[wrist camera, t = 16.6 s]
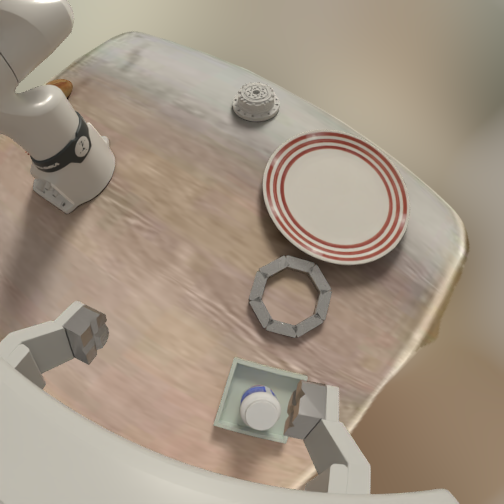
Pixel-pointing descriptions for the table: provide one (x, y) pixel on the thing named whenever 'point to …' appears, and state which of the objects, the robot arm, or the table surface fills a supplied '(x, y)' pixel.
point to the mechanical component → (256, 102)
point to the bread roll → (62, 86)
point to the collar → (316, 279)
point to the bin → (250, 375)
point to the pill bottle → (260, 407)
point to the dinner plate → (336, 197)
